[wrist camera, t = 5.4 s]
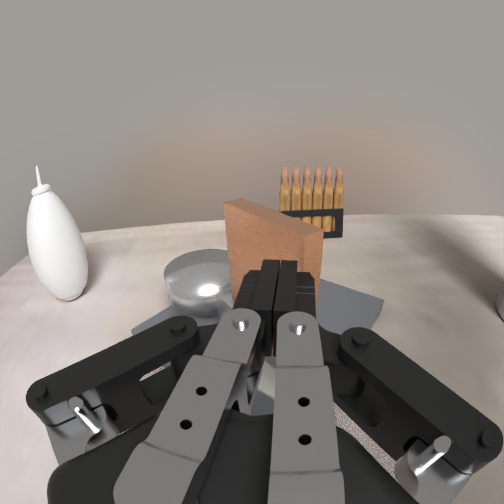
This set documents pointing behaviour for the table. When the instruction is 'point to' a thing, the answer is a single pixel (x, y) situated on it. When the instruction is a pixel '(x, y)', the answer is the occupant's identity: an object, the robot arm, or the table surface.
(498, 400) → the table surface
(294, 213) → the ammunition clip
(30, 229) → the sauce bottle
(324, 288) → the lock base
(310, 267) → the twist collar
